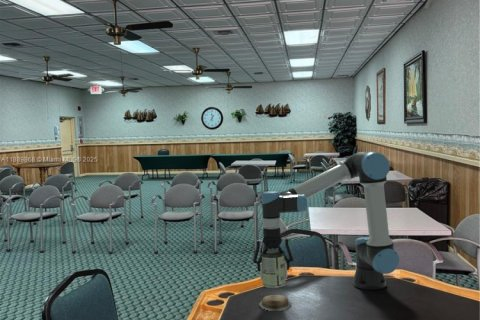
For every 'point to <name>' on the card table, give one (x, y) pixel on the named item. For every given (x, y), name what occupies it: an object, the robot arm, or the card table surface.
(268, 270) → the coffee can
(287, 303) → the brown domed disc
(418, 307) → the card table surface
